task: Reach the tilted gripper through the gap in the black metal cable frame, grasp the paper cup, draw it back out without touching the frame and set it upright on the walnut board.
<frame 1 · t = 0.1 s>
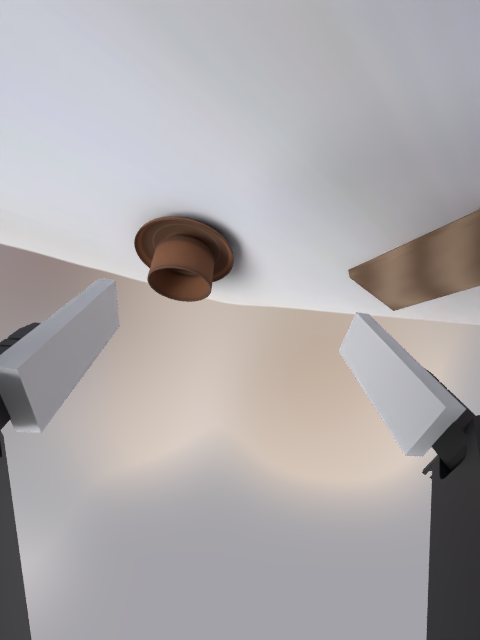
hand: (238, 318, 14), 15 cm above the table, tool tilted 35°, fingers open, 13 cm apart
cup and saucer: (188, 244, 31), on the table
walnut board: (426, 269, 32), on the table
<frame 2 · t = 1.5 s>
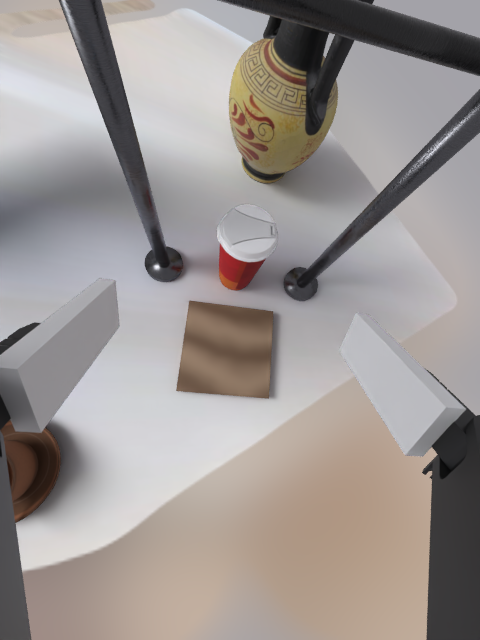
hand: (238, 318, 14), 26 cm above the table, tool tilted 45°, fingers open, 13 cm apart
amphora: (264, 165, 50), on the table
cup and saucer: (17, 465, 32), on the table
paper cup: (234, 276, 43), on the table
walnut board: (227, 349, 40), on the table
cable frame: (234, 275, 43), on the table
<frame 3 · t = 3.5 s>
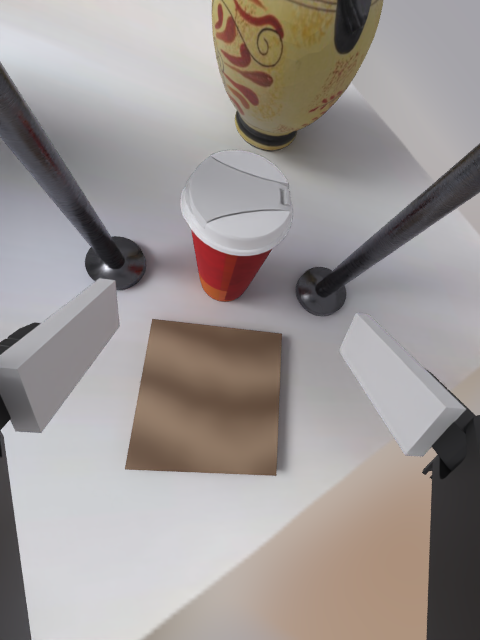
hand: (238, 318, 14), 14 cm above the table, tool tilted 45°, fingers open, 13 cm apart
amphora: (266, 127, 36), on the table
paper cup: (223, 280, 29), on the table
walnut board: (211, 393, 26), on the table
cable frame: (223, 279, 29), on the table
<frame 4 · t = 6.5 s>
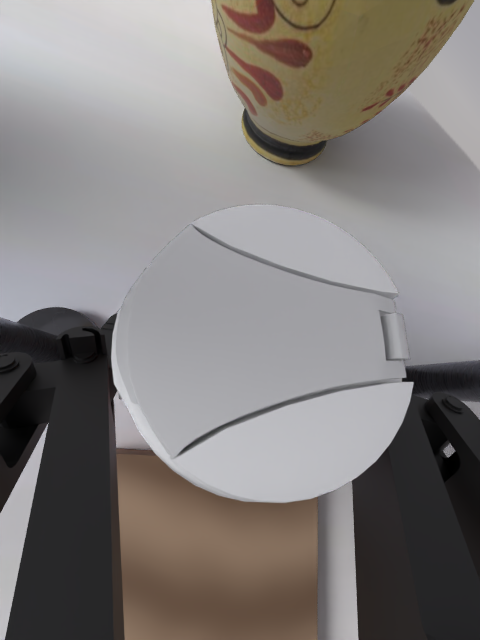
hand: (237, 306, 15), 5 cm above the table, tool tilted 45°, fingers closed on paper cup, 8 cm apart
amphora: (284, 132, 26), on the table
paper cup: (224, 368, 19), on the table, touching gripper
walnut board: (204, 576, 15), on the table
cable frame: (224, 367, 19), on the table
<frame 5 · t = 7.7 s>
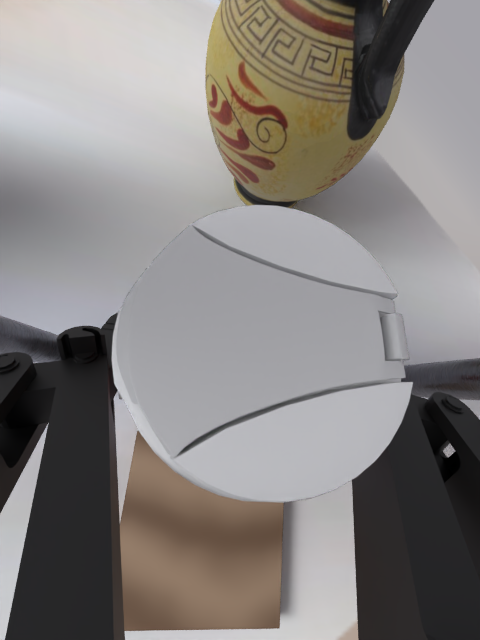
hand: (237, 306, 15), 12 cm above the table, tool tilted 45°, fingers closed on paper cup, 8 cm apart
amphora: (268, 185, 33), on the table
paper cup: (224, 368, 19), point 7 cm above the table, touching gripper
walnut board: (204, 517, 22), on the table
cable frame: (219, 372, 26), on the table
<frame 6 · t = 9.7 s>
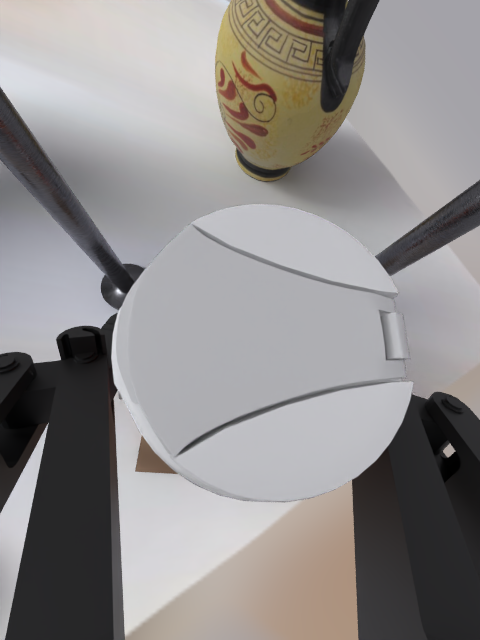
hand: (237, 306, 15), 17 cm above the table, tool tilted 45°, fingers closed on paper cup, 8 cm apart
amphora: (264, 158, 40), on the table
paper cup: (224, 368, 19), point 11 cm above the table, touching gripper
walnut board: (210, 405, 29), on the table
cable frame: (223, 301, 32), on the table
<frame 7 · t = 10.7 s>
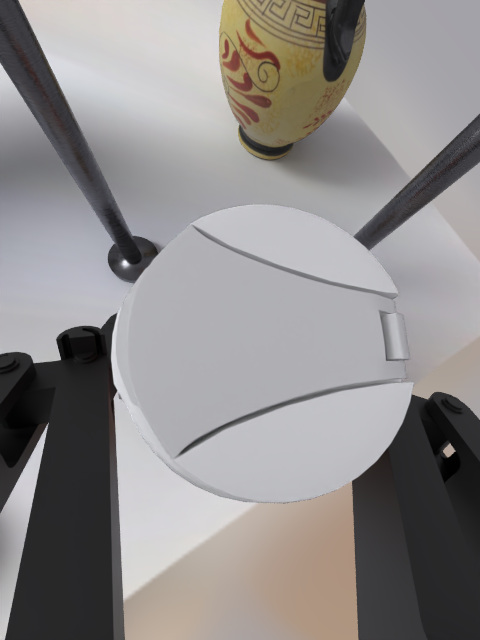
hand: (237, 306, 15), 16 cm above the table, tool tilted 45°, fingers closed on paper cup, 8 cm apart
amphora: (266, 138, 40), on the table
paper cup: (224, 368, 19), point 11 cm above the table, touching gripper
cable frame: (227, 274, 33), on the table
when the fingers open (8 cm above the table, at t = 12.9 s): paper cup drops 2 cm, resting on walnut board.
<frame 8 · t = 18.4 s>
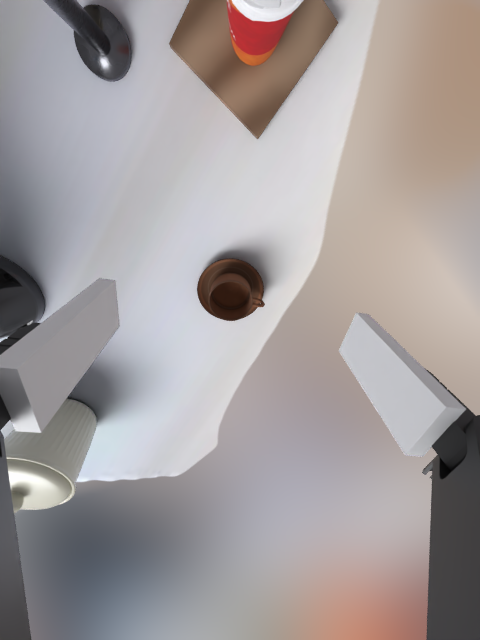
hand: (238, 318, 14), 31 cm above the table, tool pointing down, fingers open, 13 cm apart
canister: (72, 412, 61), on the table
cup and saucer: (230, 287, 46), on the table
paper cup: (253, 34, 29), point 1 cm above the table, touching walnut board
walnut board: (252, 38, 29), on the table
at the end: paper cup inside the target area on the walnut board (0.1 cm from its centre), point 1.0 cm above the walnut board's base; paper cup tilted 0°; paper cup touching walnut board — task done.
